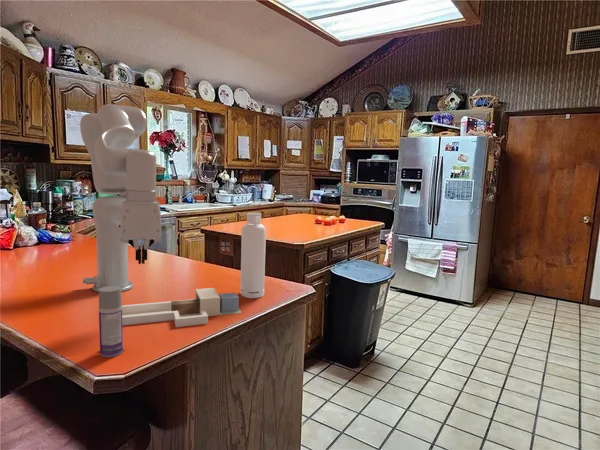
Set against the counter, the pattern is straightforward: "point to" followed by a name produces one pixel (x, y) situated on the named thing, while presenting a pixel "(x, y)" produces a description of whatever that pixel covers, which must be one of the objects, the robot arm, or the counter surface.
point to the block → (229, 302)
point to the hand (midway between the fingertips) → (141, 262)
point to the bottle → (253, 257)
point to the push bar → (188, 306)
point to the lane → (164, 313)
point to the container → (110, 321)
